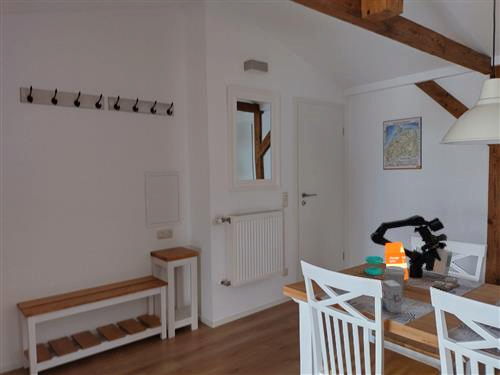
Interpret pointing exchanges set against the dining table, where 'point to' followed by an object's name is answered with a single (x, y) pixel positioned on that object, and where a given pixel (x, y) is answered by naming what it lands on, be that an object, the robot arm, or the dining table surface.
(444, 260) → the module
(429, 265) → the black slab
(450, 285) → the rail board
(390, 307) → the ink box
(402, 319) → the dining table surface
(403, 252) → the orange juice
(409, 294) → the dining table surface
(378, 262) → the donuts
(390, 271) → the grey canister
